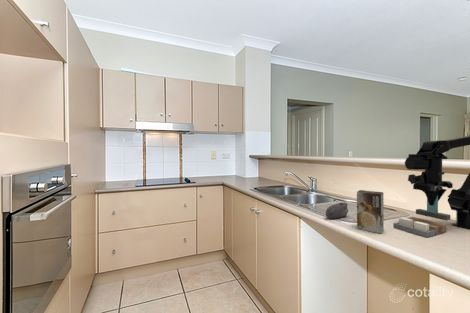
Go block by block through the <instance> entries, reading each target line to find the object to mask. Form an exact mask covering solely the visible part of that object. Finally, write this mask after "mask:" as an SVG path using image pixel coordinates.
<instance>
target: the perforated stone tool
mask: <svg viewBox="0 0 470 313" xmlns="http://www.w3.org/2000/svg"><path fill="white" fill-rule="evenodd" d="M348 213H349V208H348V203H347V202H338V203H337V202H336V203H334V204H332V205H329V207H327V209H326V211H325V216H326V218H328V219H330V220H331V219H334V220H335V219H340V218H341V219H342V218H344V217H346V216H348Z"/></svg>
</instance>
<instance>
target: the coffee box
mask: <svg viewBox="0 0 470 313" xmlns="http://www.w3.org/2000/svg"><path fill="white" fill-rule="evenodd" d="M384 218H385V216H384V191H374V190H365V189H364V190H362V189H359V190H358V191H356V229H357V230H361V231H367V232H371V233H377V234H383V232H384V231H385V228H384V224H385V223H384Z"/></svg>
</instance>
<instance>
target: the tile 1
mask: <svg viewBox="0 0 470 313" xmlns="http://www.w3.org/2000/svg"><path fill="white" fill-rule="evenodd" d="M408 218H409V217H403V216H402V217H398V222H399V225H403V226H407V227H410V228H413V220H412V219H408Z"/></svg>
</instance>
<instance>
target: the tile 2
mask: <svg viewBox="0 0 470 313" xmlns="http://www.w3.org/2000/svg"><path fill="white" fill-rule="evenodd" d="M414 229H417V230H421V231H425V232H427V231H429V224H426V223H422V222H418V221H416V222H414Z"/></svg>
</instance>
